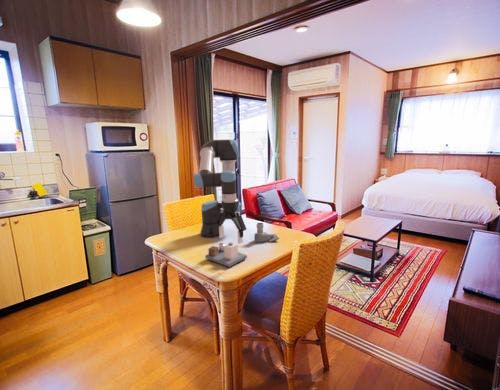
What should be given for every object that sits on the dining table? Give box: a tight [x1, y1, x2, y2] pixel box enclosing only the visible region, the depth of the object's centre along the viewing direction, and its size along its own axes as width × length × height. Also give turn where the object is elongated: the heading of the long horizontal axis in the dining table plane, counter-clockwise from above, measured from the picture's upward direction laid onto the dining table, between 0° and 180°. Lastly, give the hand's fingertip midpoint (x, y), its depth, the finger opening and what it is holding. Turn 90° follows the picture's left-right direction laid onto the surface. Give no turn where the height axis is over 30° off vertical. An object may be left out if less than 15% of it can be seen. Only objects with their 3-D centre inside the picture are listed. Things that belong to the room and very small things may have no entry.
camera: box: [254, 222, 280, 243], centre depth 177 cm, size 9×12×15 cm
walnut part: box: [207, 245, 219, 257], centre depth 151 cm, size 4×4×4 cm
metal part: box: [218, 242, 226, 252], centre depth 156 cm, size 4×4×4 cm
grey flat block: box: [204, 251, 248, 269], centre depth 151 cm, size 18×14×2 cm
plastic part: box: [224, 242, 239, 260], centre depth 147 cm, size 5×5×8 cm
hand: (230, 240), depth 147 cm, fingers open, 13 cm apart
